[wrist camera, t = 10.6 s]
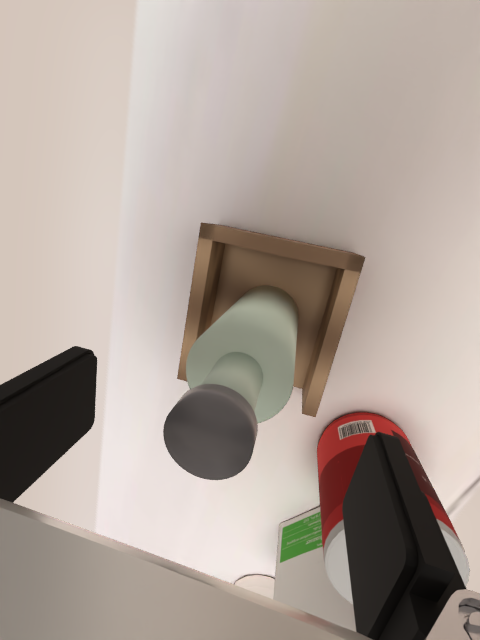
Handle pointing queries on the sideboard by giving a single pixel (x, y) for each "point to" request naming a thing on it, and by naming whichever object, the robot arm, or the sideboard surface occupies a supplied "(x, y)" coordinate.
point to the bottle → (234, 384)
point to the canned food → (334, 478)
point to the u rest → (283, 272)
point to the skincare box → (308, 572)
